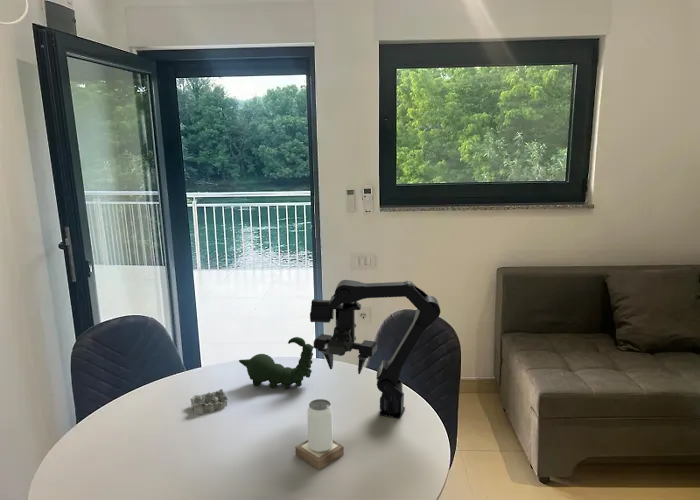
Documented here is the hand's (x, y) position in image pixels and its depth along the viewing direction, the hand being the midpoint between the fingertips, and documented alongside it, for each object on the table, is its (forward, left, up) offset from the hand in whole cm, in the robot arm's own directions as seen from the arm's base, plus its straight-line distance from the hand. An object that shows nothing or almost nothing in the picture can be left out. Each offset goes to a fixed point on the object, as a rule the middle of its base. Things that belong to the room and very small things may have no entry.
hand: (345, 371), depth 155 cm
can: (-2, +24, -10) cm, 26 cm away
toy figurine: (+28, -7, -13) cm, 32 cm away
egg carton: (+41, +13, -14) cm, 45 cm away
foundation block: (-2, +24, -13) cm, 27 cm away
